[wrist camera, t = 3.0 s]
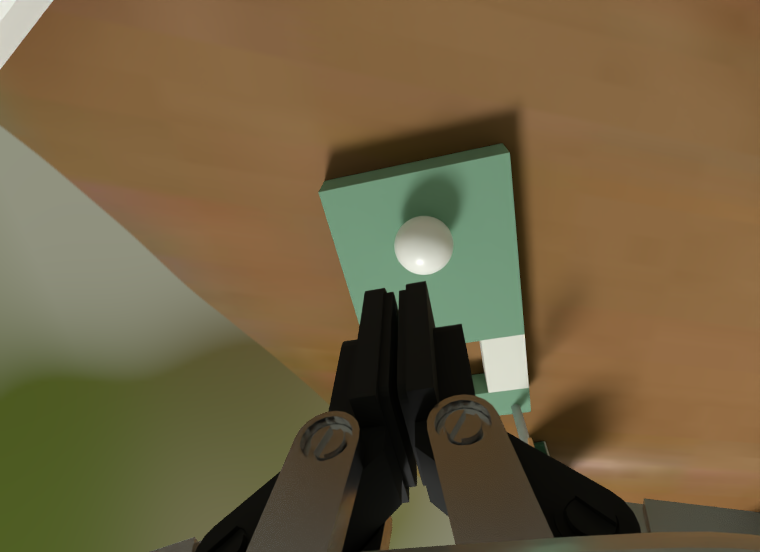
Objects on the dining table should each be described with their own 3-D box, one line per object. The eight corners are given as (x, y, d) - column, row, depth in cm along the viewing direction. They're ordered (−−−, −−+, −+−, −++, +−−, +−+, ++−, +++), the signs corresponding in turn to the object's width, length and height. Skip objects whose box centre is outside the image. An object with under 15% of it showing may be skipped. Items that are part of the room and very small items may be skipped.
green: (502, 143, 30) (543, 194, 21) (524, 391, 42) (557, 493, 33) (324, 181, 32) (292, 242, 23) (392, 408, 44) (388, 508, 35)
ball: (446, 201, 30) (451, 225, 27) (454, 252, 32) (460, 280, 28) (389, 212, 31) (387, 236, 27) (400, 261, 33) (400, 290, 29)
